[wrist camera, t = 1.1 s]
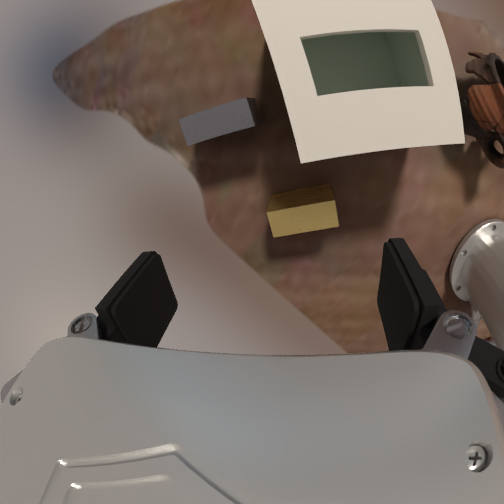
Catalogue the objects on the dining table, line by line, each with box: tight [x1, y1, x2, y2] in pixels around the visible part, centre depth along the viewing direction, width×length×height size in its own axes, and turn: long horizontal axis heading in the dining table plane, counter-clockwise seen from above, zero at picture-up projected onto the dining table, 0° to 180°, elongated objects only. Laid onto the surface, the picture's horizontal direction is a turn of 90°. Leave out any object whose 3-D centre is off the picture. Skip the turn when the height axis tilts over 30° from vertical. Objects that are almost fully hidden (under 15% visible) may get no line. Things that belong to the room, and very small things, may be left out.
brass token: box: [267, 184, 339, 238], centre depth 26 cm, size 2×6×5 cm, turn 105°
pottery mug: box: [460, 52, 504, 168], centre depth 16 cm, size 12×10×8 cm
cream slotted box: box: [252, 0, 465, 163], centre depth 16 cm, size 12×12×10 cm
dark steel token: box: [179, 97, 262, 146], centre depth 23 cm, size 2×6×5 cm, turn 105°
